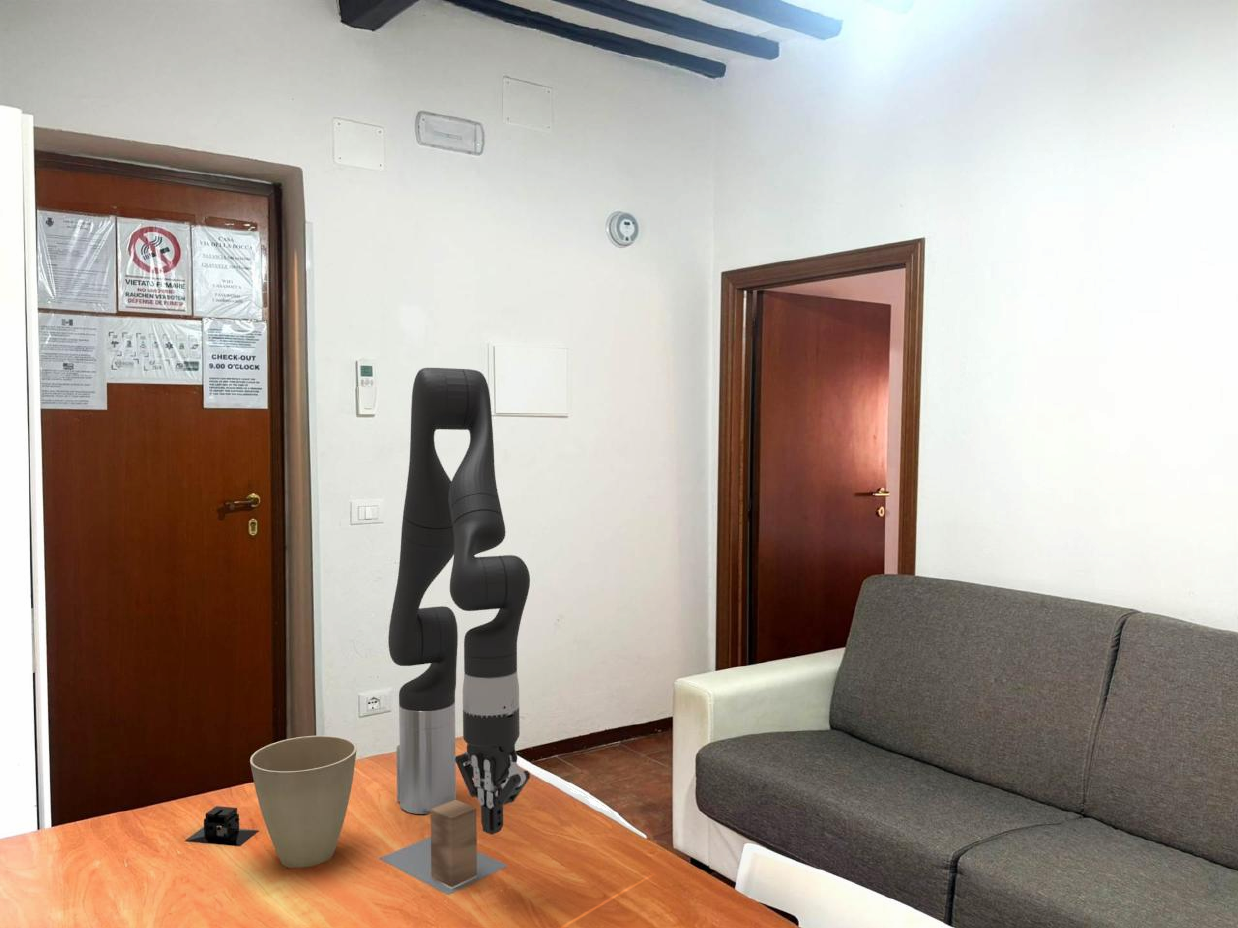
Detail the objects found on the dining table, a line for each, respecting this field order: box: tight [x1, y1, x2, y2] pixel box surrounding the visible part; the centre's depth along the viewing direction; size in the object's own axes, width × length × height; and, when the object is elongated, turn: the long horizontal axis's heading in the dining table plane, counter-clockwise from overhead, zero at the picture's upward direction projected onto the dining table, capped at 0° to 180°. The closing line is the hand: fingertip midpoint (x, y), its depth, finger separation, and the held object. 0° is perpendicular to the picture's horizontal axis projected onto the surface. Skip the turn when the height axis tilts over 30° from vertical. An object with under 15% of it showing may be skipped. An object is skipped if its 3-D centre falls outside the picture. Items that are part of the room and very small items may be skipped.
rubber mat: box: [378, 836, 509, 896], centre depth 139 cm, size 16×11×1 cm
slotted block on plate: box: [184, 805, 260, 847], centre depth 148 cm, size 12×7×5 cm, turn 80°
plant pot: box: [249, 735, 358, 869], centre depth 141 cm, size 15×15×16 cm
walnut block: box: [430, 799, 478, 889], centre depth 134 cm, size 4×4×10 cm
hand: (492, 831), depth 128 cm, fingers closed
